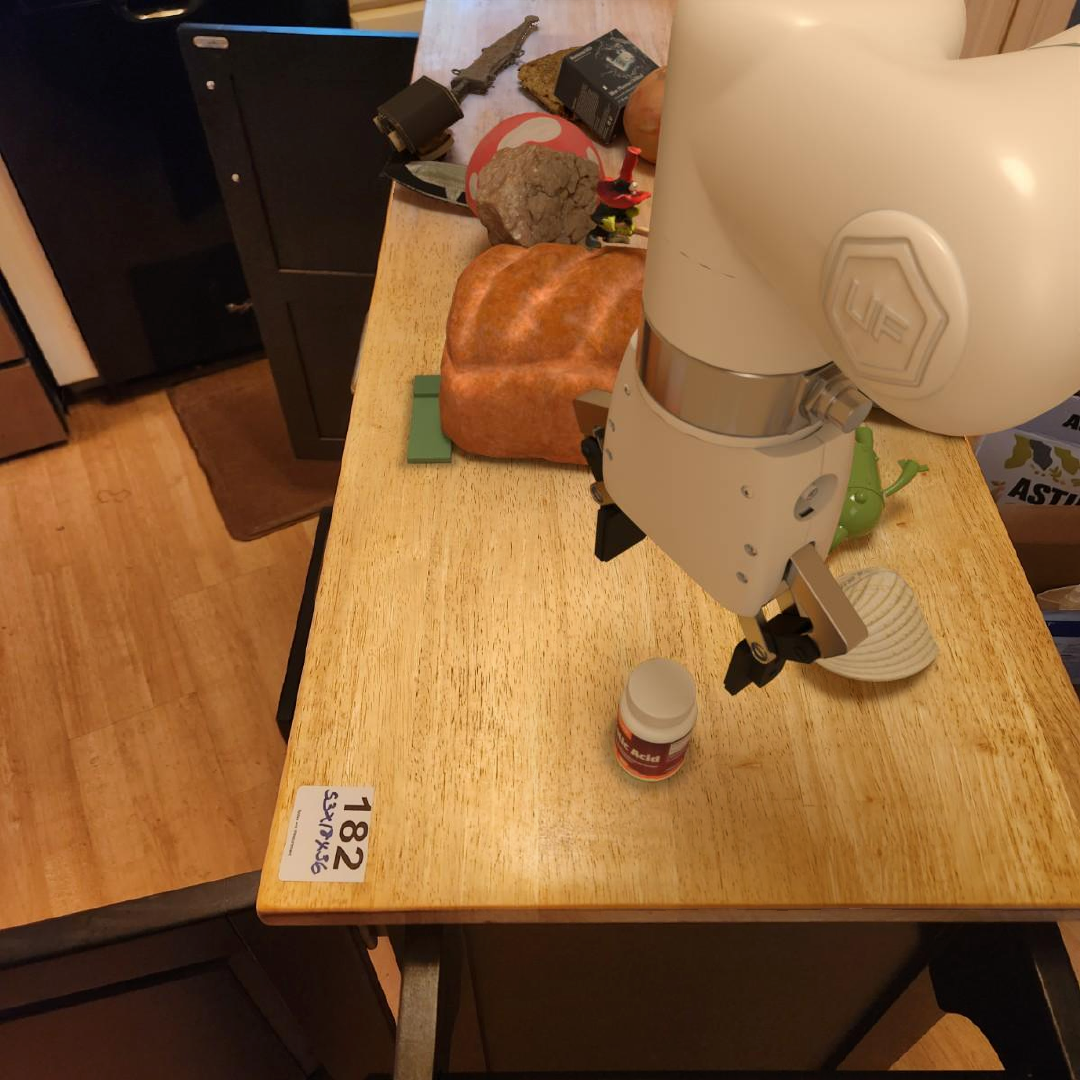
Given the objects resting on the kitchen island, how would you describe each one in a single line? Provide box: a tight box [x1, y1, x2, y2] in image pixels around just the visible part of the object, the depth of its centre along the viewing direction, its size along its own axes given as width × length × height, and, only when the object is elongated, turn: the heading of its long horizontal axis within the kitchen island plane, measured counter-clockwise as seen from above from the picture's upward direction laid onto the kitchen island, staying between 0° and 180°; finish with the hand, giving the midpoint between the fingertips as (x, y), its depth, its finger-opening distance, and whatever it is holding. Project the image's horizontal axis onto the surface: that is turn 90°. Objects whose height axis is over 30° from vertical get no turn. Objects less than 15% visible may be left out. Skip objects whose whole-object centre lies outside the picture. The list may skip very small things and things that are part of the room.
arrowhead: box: [378, 148, 448, 180], centre depth 104 cm, size 6×1×10 cm
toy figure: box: [571, 146, 652, 250], centre depth 66 cm, size 10×4×7 cm, turn 90°
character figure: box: [827, 426, 930, 557], centre depth 69 cm, size 12×5×12 cm
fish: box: [384, 161, 471, 210], centre depth 98 cm, size 23×9×4 cm, turn 71°
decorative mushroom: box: [465, 111, 606, 220], centre depth 86 cm, size 13×13×15 cm
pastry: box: [516, 45, 584, 121], centre depth 114 cm, size 17×17×3 cm
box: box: [554, 28, 661, 145], centre depth 106 cm, size 9×6×10 cm
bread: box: [438, 243, 647, 466], centre depth 72 cm, size 14×26×16 cm, turn 83°
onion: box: [623, 65, 667, 165], centre depth 100 cm, size 10×10×10 cm
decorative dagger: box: [449, 14, 540, 106], centre depth 117 cm, size 7×2×30 cm
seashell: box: [814, 566, 941, 682], centre depth 62 cm, size 8×8×8 cm
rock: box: [476, 143, 600, 252], centre depth 76 cm, size 13×11×5 cm
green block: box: [406, 374, 453, 464], centre depth 78 cm, size 10×4×1 cm, turn 1°
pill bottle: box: [613, 657, 699, 782], centre depth 56 cm, size 5×5×8 cm
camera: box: [372, 74, 465, 161], centre depth 101 cm, size 16×7×8 cm
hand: (682, 608), depth 46 cm, fingers open, 9 cm apart
